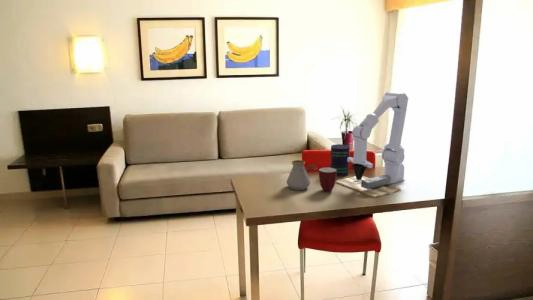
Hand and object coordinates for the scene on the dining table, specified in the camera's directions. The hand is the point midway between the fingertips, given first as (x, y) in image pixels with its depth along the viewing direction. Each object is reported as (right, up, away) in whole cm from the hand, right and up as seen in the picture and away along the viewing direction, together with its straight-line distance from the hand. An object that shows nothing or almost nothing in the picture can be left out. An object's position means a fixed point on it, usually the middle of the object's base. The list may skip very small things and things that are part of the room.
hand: (358, 179), depth 185 cm
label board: (+5, -4, +3) cm, 7 cm away
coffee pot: (-26, -5, -1) cm, 27 cm away
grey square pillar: (+8, -4, -2) cm, 9 cm away
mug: (-15, -6, -3) cm, 16 cm away
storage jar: (-5, +1, +24) cm, 24 cm away
